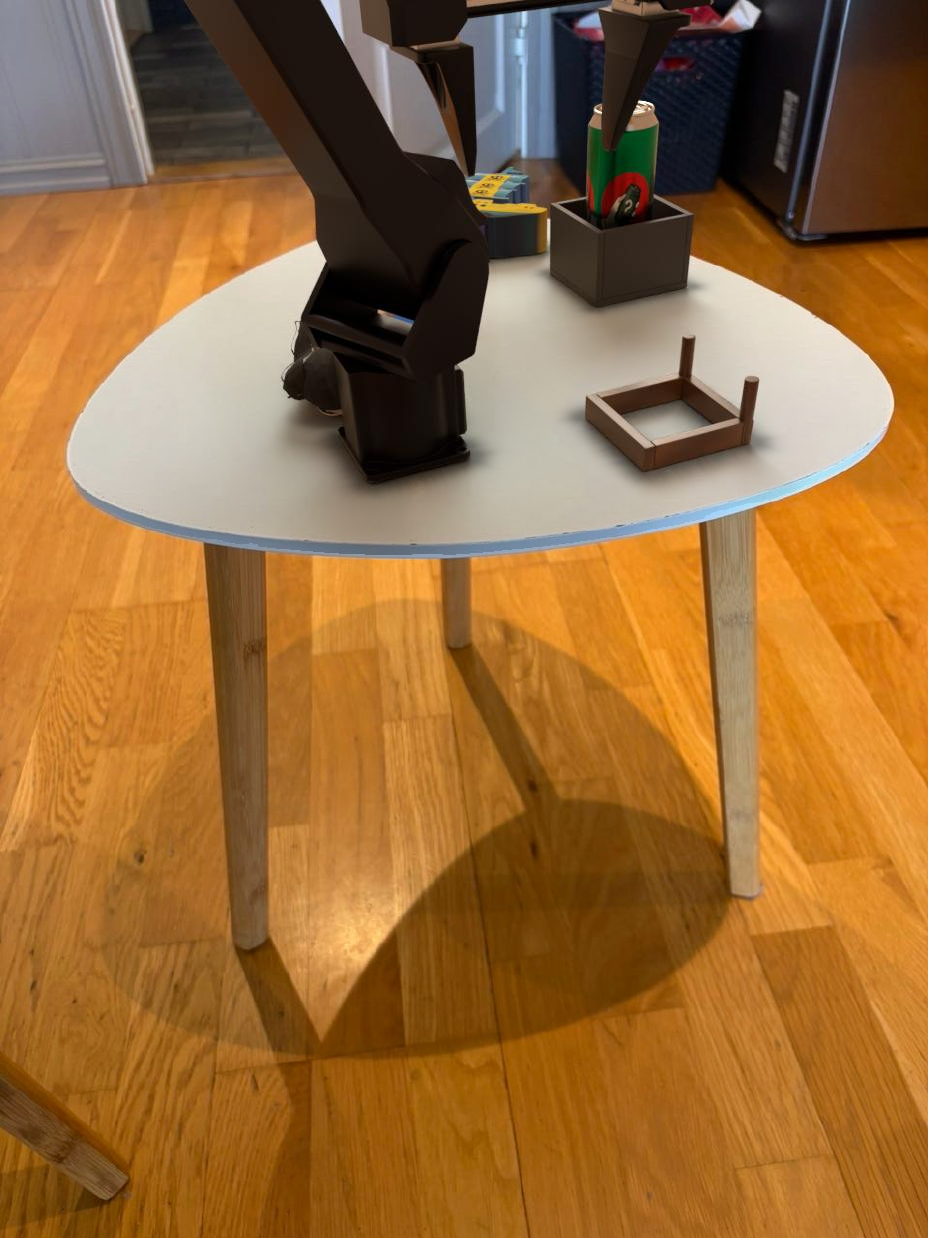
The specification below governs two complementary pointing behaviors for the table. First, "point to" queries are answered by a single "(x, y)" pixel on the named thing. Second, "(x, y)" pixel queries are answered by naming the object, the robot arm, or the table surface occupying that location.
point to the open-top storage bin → (620, 253)
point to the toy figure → (314, 374)
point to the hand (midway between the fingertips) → (540, 162)
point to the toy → (509, 213)
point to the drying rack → (664, 451)
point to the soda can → (622, 171)
